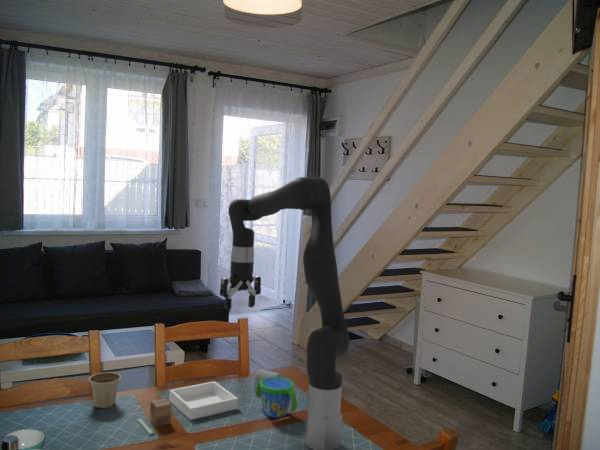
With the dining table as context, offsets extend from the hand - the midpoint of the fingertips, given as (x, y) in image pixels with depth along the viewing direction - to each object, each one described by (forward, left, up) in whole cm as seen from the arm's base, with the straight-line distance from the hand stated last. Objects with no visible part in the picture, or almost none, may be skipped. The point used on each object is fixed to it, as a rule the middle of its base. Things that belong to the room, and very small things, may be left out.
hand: (239, 308), depth 171 cm
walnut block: (-7, +29, -30) cm, 42 cm away
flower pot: (+14, +39, -30) cm, 51 cm away
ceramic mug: (-1, -12, -30) cm, 33 cm away
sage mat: (-7, +29, -30) cm, 42 cm away
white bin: (-2, +13, -30) cm, 33 cm away
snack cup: (-18, -4, -30) cm, 35 cm away
